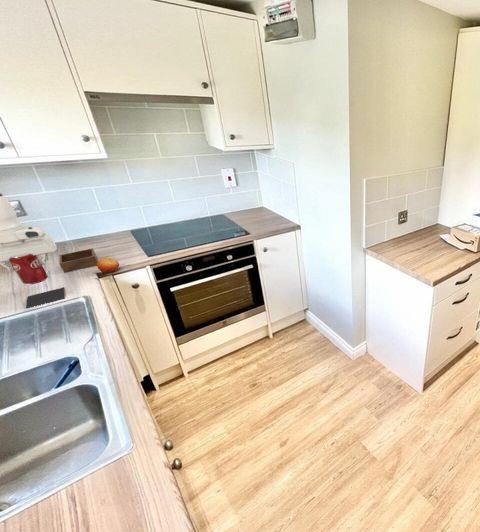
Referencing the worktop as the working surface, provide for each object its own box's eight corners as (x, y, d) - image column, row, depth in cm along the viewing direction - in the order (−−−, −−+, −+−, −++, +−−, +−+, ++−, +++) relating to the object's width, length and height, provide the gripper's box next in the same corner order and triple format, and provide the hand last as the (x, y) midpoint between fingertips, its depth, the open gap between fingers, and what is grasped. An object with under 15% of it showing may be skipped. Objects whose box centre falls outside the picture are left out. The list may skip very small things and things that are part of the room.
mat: (26, 308, 126) (25, 307, 126) (28, 297, 133) (27, 296, 133) (64, 298, 133) (64, 297, 133) (64, 288, 140) (63, 287, 140)
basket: (64, 273, 152) (59, 263, 150) (64, 264, 160) (59, 254, 158) (99, 265, 160) (94, 256, 157) (97, 256, 168) (92, 248, 165)
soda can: (22, 287, 125) (5, 259, 119) (24, 280, 130) (8, 253, 124) (48, 281, 129) (33, 254, 124) (49, 274, 134) (34, 248, 128)
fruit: (97, 266, 155) (102, 252, 153) (118, 271, 159) (123, 258, 158) (91, 274, 148) (96, 259, 147) (112, 279, 153) (117, 265, 151)
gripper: (-36, 244, 112) (-13, 278, 118) (46, 230, 124) (63, 262, 131) (-33, 239, 116) (-11, 272, 122) (47, 226, 128) (63, 257, 135)
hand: (28, 267), depth 127 cm, fingers closed on soda can, 7 cm apart
